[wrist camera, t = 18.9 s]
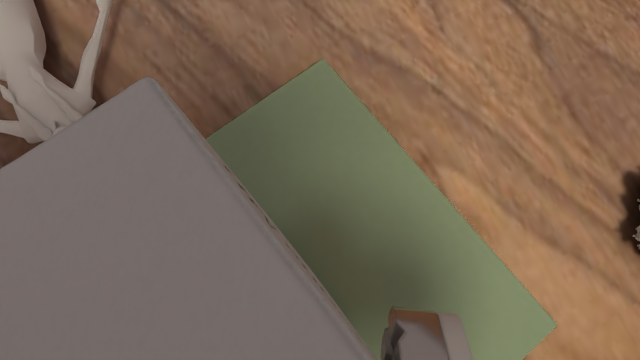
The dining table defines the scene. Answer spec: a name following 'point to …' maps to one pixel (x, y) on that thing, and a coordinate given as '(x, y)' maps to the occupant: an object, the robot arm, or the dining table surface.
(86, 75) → the woman figurine
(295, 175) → the mat
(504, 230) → the dining table surface
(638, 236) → the blueberries
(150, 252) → the cosmetic box
